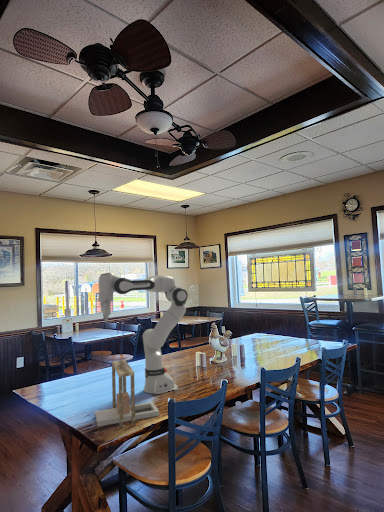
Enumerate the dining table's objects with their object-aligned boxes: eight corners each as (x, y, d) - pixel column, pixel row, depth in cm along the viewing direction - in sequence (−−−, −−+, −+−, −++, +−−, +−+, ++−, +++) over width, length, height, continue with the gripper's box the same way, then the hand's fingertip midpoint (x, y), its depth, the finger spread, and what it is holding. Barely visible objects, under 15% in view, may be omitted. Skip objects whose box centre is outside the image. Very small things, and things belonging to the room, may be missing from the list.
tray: (152, 406, 198) (152, 402, 198) (159, 415, 184) (159, 410, 185) (95, 416, 186) (95, 411, 187) (97, 426, 173) (97, 421, 173)
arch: (126, 406, 199) (125, 359, 201) (135, 425, 173) (134, 372, 174) (112, 408, 196) (111, 361, 198) (120, 428, 170) (119, 374, 172)
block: (127, 408, 189) (127, 392, 189) (129, 412, 183) (129, 395, 184) (116, 410, 187) (116, 393, 187) (118, 414, 181) (118, 397, 181)
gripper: (113, 299, 208) (113, 322, 208) (108, 297, 227) (108, 318, 227) (102, 300, 206) (102, 323, 206) (99, 297, 225) (99, 318, 225)
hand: (105, 320), depth 216 cm, fingers open, 8 cm apart
